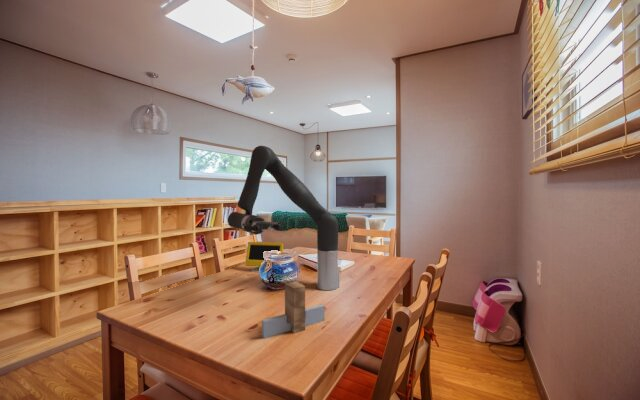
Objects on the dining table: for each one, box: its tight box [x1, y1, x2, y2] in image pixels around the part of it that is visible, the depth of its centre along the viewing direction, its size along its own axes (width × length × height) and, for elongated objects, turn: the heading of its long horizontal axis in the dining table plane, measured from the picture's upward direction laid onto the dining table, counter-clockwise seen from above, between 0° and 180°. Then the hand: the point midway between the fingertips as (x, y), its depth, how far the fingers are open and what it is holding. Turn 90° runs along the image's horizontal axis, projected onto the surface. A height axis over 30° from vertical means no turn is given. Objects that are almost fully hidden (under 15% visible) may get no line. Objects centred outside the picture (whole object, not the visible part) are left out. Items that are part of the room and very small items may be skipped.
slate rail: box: [261, 304, 326, 339], centre depth 97 cm, size 22×2×5 cm, turn 124°
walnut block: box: [284, 280, 306, 334], centre depth 97 cm, size 4×6×14 cm, turn 35°
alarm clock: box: [244, 241, 284, 272], centre depth 165 cm, size 20×8×16 cm, turn 80°
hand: (269, 228), depth 112 cm, fingers open, 8 cm apart
